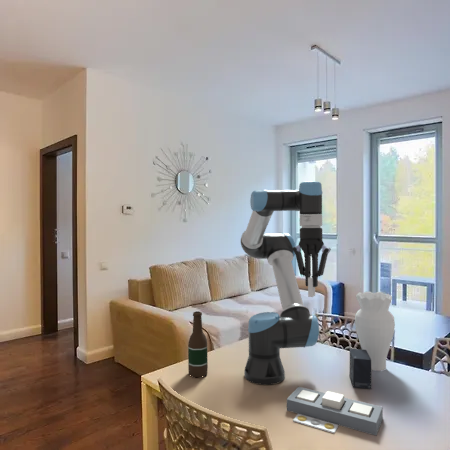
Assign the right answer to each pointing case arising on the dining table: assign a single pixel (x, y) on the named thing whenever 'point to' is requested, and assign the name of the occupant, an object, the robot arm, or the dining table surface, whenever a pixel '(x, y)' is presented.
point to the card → (316, 423)
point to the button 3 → (361, 409)
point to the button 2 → (333, 400)
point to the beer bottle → (197, 348)
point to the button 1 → (308, 396)
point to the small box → (360, 368)
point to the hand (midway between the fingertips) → (311, 296)
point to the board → (336, 412)
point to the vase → (375, 326)
